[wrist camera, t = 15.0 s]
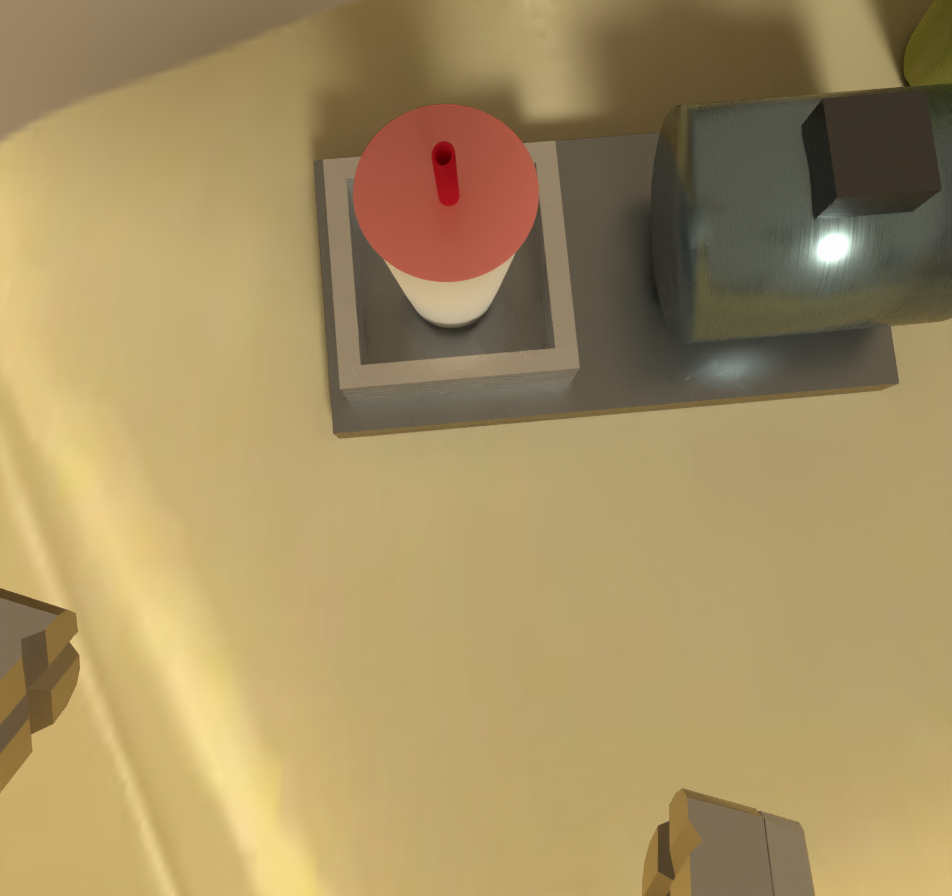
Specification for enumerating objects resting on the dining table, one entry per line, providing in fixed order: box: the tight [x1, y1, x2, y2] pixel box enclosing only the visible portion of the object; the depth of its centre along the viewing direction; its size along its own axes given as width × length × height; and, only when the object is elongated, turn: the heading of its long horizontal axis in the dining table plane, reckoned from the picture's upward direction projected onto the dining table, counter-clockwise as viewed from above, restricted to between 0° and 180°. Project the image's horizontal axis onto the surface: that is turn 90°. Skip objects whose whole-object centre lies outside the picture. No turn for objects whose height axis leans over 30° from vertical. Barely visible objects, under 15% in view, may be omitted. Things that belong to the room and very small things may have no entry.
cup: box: [353, 104, 539, 328], centre depth 28 cm, size 5×5×12 cm
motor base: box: [314, 83, 952, 438], centre depth 30 cm, size 22×11×11 cm, turn 95°
